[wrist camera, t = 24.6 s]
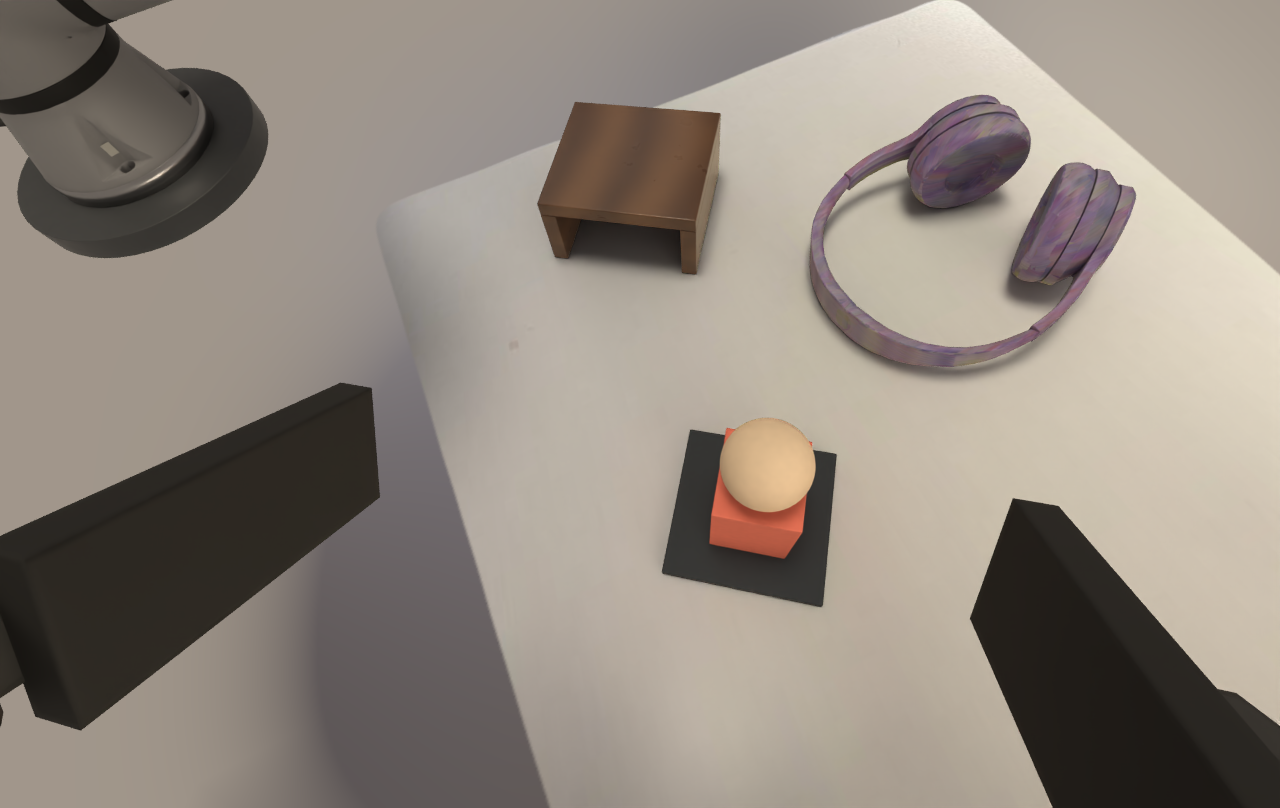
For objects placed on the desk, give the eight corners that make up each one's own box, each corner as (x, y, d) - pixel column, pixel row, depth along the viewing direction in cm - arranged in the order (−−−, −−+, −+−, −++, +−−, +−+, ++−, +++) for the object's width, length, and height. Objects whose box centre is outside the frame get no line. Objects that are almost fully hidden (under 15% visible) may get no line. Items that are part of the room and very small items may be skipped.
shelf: (554, 257, 50) (536, 203, 45) (587, 161, 55) (574, 101, 49) (696, 274, 48) (695, 220, 43) (718, 173, 53) (721, 112, 47)
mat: (662, 573, 39) (661, 572, 38) (690, 431, 43) (690, 429, 42) (821, 606, 37) (822, 606, 37) (835, 456, 41) (836, 453, 40)
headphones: (946, 130, 51) (761, 270, 51) (974, 46, 44) (758, 209, 43) (1137, 265, 44) (925, 431, 44) (1210, 192, 37) (955, 391, 36)
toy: (709, 544, 39) (713, 490, 28) (722, 468, 41) (730, 392, 30) (784, 559, 38) (818, 509, 27) (794, 481, 40) (828, 407, 29)
